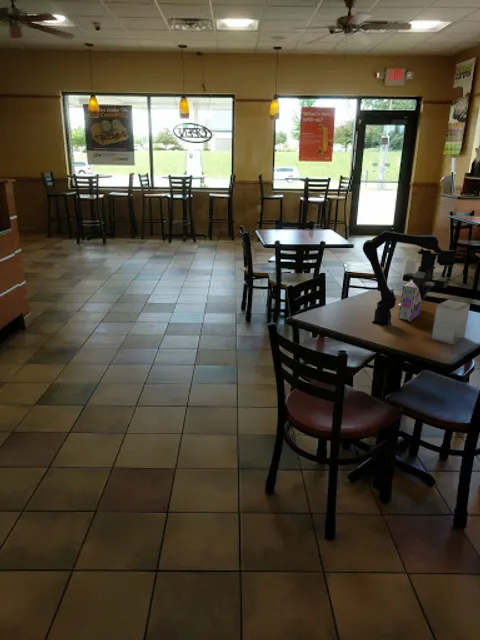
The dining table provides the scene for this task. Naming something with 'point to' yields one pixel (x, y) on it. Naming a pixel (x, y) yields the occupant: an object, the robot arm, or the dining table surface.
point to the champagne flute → (408, 270)
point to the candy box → (410, 302)
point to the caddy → (450, 321)
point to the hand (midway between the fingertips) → (422, 299)
